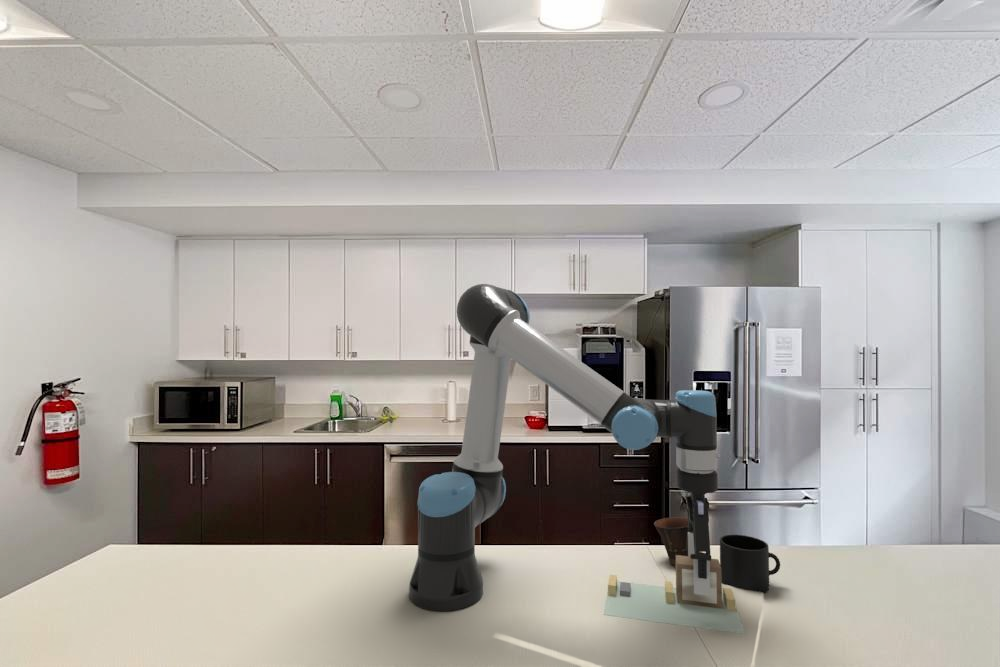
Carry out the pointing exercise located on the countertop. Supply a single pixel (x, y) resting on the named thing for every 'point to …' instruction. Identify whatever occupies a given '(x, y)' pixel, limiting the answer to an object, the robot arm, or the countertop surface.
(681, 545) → the cup
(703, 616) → the wall board
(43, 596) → the countertop surface
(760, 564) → the mug
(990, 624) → the countertop surface
